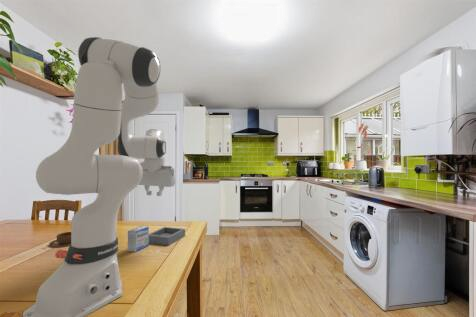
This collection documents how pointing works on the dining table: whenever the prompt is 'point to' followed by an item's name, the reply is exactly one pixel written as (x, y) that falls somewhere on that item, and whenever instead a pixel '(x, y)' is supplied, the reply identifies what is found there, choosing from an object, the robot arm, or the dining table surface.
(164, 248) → the dining table surface
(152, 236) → the tray
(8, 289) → the dining table surface
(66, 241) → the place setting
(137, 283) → the dining table surface
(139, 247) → the medicine box
